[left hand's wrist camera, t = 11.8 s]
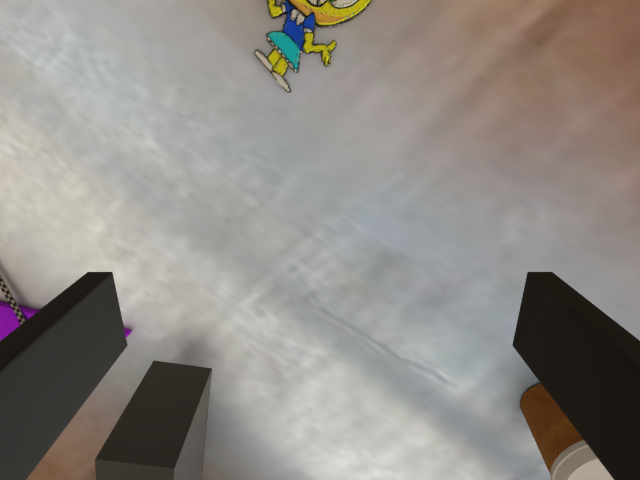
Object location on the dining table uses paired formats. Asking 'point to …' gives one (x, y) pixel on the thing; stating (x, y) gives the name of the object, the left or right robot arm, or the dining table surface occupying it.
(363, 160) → the dining table surface
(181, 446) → the box
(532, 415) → the disposable coffee cup
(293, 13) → the toy
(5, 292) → the musical instrument
